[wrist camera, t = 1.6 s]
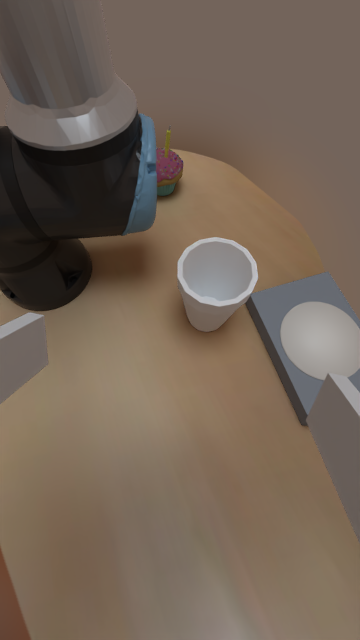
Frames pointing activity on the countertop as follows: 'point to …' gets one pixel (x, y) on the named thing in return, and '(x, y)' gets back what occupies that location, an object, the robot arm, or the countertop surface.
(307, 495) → the countertop surface
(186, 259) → the foam cup
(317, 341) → the pedestal
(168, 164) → the cupcake
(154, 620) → the countertop surface
